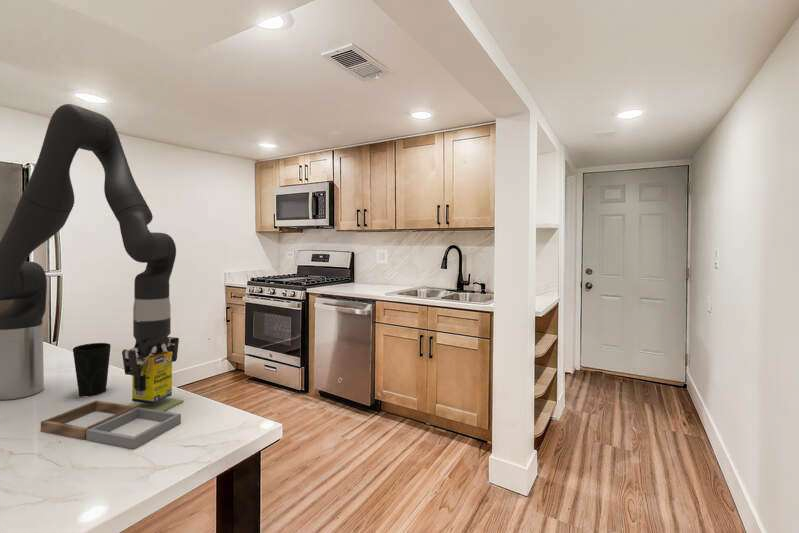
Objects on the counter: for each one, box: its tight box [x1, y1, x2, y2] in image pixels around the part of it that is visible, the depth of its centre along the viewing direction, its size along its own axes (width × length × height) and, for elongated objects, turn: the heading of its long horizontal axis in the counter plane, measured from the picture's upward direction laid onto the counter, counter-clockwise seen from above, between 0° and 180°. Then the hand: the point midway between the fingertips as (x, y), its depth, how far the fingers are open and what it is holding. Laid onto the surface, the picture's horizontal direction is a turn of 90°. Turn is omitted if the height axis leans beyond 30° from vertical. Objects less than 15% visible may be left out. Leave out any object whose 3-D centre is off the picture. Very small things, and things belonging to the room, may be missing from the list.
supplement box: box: [131, 352, 173, 404], centre depth 95 cm, size 6×6×11 cm
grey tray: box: [85, 407, 182, 450], centre depth 83 cm, size 12×12×2 cm
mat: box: [127, 397, 184, 412], centre depth 95 cm, size 10×8×1 cm
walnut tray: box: [40, 400, 136, 441], centre depth 85 cm, size 12×12×2 cm
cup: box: [72, 342, 112, 397], centre depth 102 cm, size 8×8×12 cm
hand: (152, 385), depth 95 cm, fingers closed on supplement box, 6 cm apart
